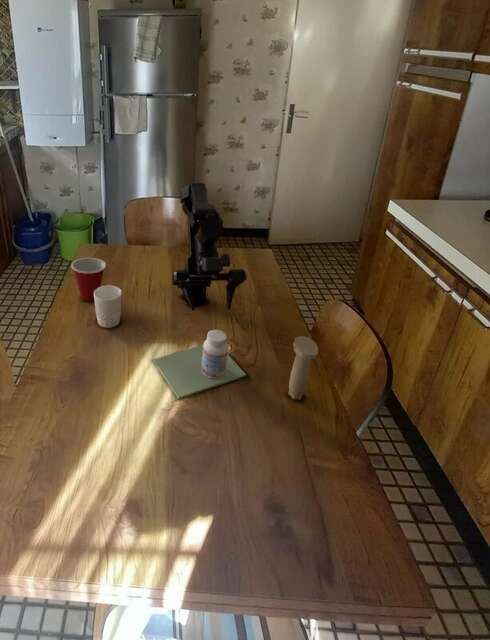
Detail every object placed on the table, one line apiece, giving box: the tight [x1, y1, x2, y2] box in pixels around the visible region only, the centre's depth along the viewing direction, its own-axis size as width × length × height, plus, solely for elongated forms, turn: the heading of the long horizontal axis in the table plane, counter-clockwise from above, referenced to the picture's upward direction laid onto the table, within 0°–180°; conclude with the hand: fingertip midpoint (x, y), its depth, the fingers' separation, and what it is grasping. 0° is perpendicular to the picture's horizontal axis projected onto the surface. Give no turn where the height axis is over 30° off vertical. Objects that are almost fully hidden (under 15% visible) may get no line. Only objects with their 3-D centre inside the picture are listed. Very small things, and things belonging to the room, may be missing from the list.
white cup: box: [94, 284, 122, 329], centre depth 126 cm, size 8×8×10 cm
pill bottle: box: [201, 329, 229, 379], centre depth 107 cm, size 6×6×11 cm
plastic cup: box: [70, 257, 107, 302], centre depth 138 cm, size 11×11×12 cm
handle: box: [288, 335, 319, 401], centre depth 100 cm, size 5×6×15 cm
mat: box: [153, 344, 247, 400], centre depth 111 cm, size 19×14×1 cm
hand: (211, 310), depth 111 cm, fingers open, 9 cm apart
